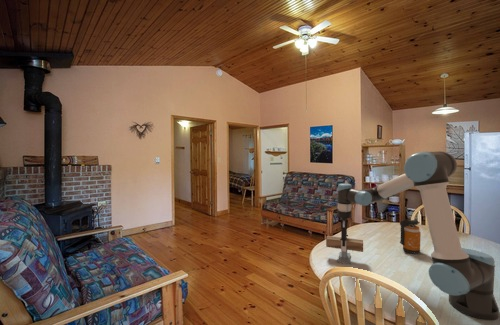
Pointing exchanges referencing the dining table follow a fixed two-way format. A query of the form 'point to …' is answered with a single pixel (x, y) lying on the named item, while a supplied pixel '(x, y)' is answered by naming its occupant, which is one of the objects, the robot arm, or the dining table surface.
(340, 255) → the fulcrum
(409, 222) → the canister
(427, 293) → the dining table surface
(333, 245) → the walnut bar
